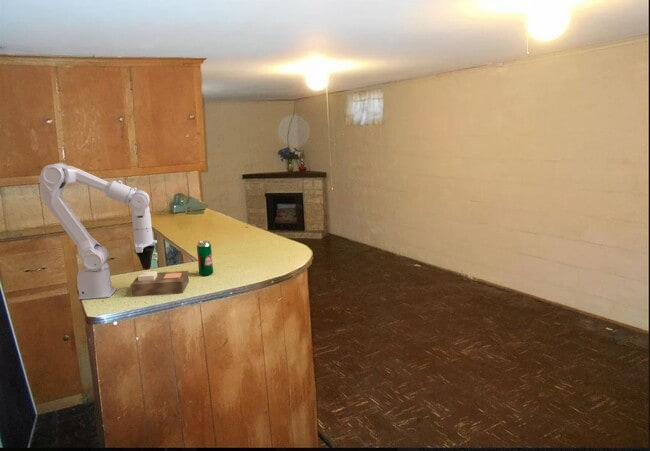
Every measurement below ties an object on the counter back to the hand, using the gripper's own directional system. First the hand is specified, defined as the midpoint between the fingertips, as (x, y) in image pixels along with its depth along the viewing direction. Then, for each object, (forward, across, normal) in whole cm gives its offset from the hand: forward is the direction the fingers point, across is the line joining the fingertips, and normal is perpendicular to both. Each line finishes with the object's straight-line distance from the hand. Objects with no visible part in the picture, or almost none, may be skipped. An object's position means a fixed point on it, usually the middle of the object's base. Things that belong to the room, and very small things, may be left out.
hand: (146, 268), depth 165 cm
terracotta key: (+6, 0, -8) cm, 10 cm away
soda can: (+8, +14, -17) cm, 23 cm away
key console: (+7, 0, -4) cm, 8 cm away
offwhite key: (+4, 0, 0) cm, 4 cm away
